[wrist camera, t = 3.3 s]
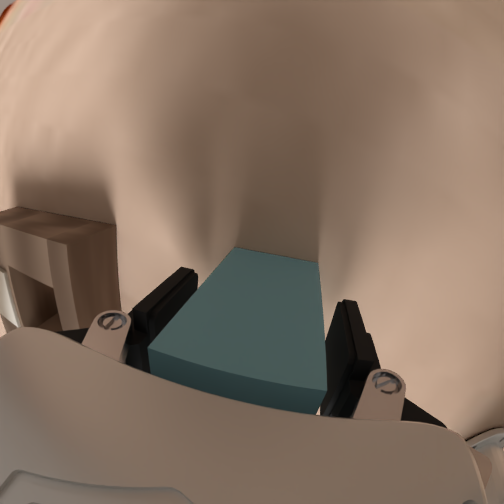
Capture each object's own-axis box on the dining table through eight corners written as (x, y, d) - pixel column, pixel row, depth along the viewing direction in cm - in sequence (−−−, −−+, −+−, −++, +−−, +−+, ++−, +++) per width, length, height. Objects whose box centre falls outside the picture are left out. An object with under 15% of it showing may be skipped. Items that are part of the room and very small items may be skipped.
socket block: (115, 225, 14) (62, 246, 10) (148, 440, 21) (130, 469, 17) (17, 206, 16) (-22, 218, 12) (64, 394, 23) (44, 415, 19)
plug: (318, 262, 12) (327, 391, 5) (300, 333, 14) (285, 468, 6) (234, 247, 13) (147, 347, 6) (226, 317, 14) (161, 436, 7)
